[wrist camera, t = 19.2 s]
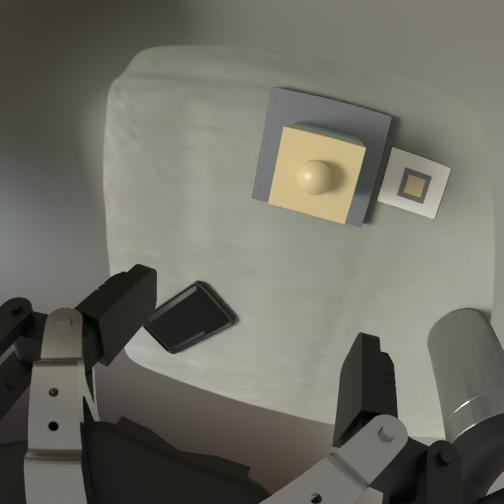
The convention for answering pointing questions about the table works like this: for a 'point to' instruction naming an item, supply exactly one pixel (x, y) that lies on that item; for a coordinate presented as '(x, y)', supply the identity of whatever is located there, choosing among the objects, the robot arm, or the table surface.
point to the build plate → (329, 117)
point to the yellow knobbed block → (316, 172)
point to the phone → (188, 318)
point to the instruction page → (413, 183)
